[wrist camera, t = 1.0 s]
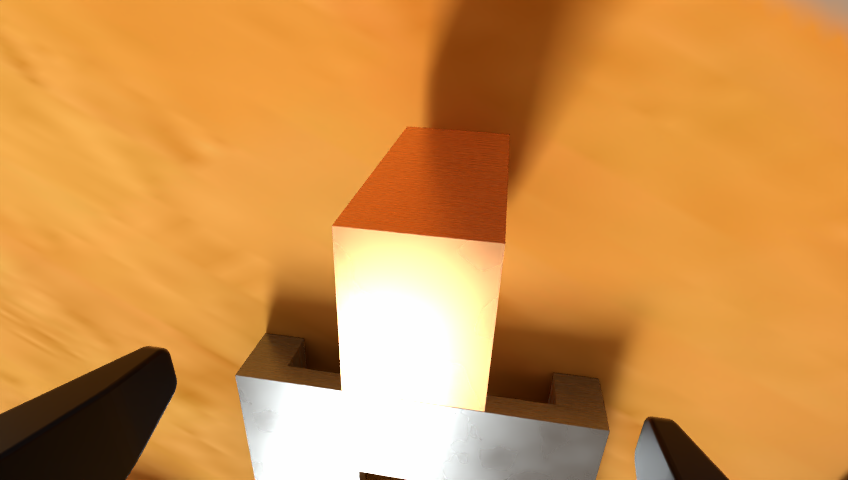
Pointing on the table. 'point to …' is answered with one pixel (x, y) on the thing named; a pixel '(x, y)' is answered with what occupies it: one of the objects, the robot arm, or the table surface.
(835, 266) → the table surface
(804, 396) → the table surface
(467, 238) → the square wooden peg
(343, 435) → the slotted plate
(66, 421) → the robot arm
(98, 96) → the table surface
